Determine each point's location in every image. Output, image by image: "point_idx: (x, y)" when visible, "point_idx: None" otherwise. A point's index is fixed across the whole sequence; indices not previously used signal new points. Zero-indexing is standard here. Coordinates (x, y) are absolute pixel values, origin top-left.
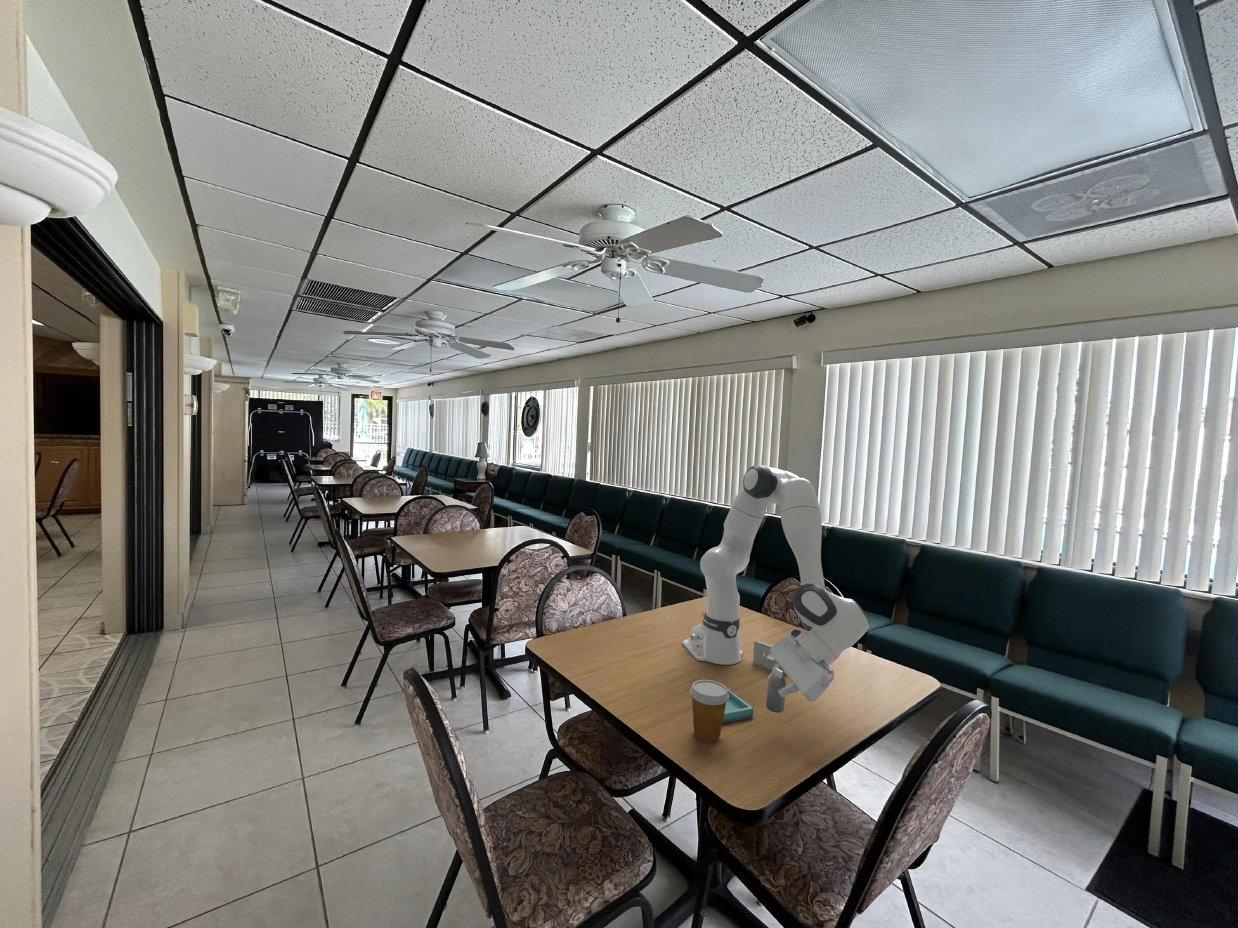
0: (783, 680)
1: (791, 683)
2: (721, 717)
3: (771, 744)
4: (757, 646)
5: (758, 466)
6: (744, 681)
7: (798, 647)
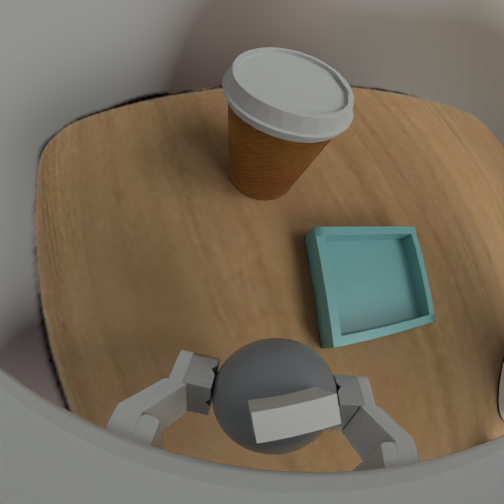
0: (238, 425)
1: (132, 427)
2: (232, 142)
3: (174, 314)
4: None
5: None
6: (457, 402)
7: None
